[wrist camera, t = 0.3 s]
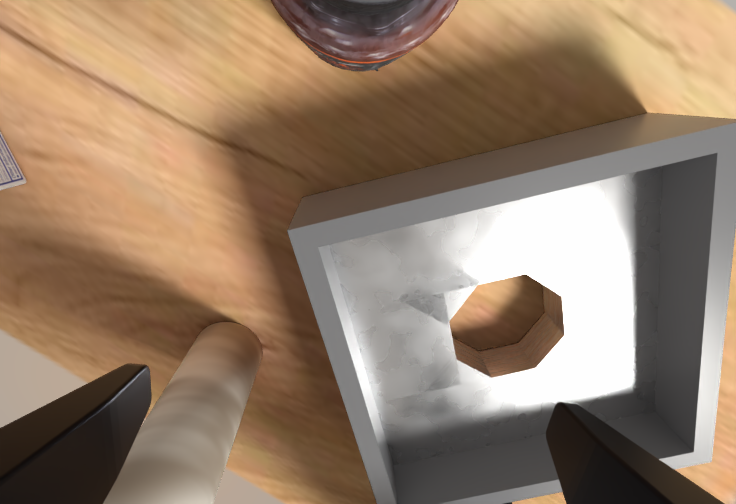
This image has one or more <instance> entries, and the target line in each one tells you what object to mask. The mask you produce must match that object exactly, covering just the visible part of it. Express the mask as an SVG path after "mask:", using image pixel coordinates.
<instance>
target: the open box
mask: <svg viewBox="0 0 736 504" xmlns="http://www.w3.org/2000/svg"><path fill="white" fill-rule="evenodd" d="M659 166H662V188H661V221H660V254H659V287H658V320H657V353H656V386H655V411H652V412H648V413H643V414H638V415H633V416H628V417H624V418H619V419H614V420H609V421H604V422H605V423H606V424H608V425H609V426H611V427H612V428H614V429H615V430H617V431H618V432H620V433H621V434H623V435H624V436H625V437H627V438H628V439H630V440H631V441H633V442H634V443H636V444H637V445H639V446H640V447H642V448H643V449H645V450H646V451H648V452H649V453H650V454H652V455H653V456H655V457H656V458H658V459H659V460H661V461H662V462H664V463H665V464H667V465H668V466H670V467H671V468H673V469H679V468H684V467H689V466H694V465H699V464H704V463H709V462H712V453H713V443H714V433H715V424H716V414H717V404H718V394H719V385H720V375H721V365H722V355H723V346H724V336H725V326H726V316H727V307H728V297H729V287H730V277H731V268H732V258H733V248H734V238H735V229H736V119H727V118H714V117H700V116H686V115H673V114H659V113H645V114H641V115H637V116H633V117H629V118H625V119H621V120H617V121H612V122H608V123H604V124H600V125H596V126H592V127H588V128H584V129H580V130H576V131H572V132H567V133H563V134H559V135H555V136H551V137H547V138H543V139H539V140H535V141H531V142H527V143H522V144H518V145H514V146H510V147H506V148H502V149H498V150H494V151H490V152H486V153H482V154H477V155H473V156H469V157H465V158H461V159H457V160H453V161H449V162H445V163H441V164H437V165H432V166H428V167H424V168H420V169H416V170H412V171H408V172H404V173H400V174H396V175H392V176H387V177H383V178H379V179H375V180H371V181H367V182H363V183H359V184H355V185H351V186H347V187H342V188H338V189H334V190H330V191H326V192H322V193H318V194H314V195H310V196H306V197H302V199H301V201H300V204H299V206H298V208H297V210H296V212H295V214H294V217H293V219H292V221H291V223H290V225H289V228H288V230H287V232H288V235H289V238H290V241H291V244H292V247H293V250H294V253H295V256H296V259H297V262H298V265H299V268H300V271H301V274H302V277H303V280H304V283H305V286H306V289H307V292H308V296H309V299H310V302H311V305H312V308H313V311H314V314H315V317H316V320H317V323H318V326H319V329H320V332H321V335H322V338H323V341H324V344H325V347H326V350H327V353H328V356H329V359H330V362H331V365H332V368H333V372H334V375H335V378H336V381H337V384H338V387H339V390H340V393H341V396H342V399H343V402H344V405H345V408H346V411H347V414H348V417H349V420H350V423H351V426H352V429H353V432H354V435H355V438H356V441H357V444H358V447H359V451H360V454H361V457H362V460H363V463H364V466H365V469H366V472H367V475H368V478H369V481H370V484H371V487H372V490H373V493H374V496H375V499H376V502H377V504H504V503H509V502H514V501H519V500H524V499H529V498H534V497H539V496H544V495H549V494H554V493H559V492H563V491H562V488H561V485H560V482H559V479H558V476H557V472H556V469H555V466H554V463H553V460H552V457H551V453H550V450H549V447H548V444H547V440H546V434H542V435H537V436H532V437H528V438H523V439H518V440H513V441H508V442H503V443H499V444H494V445H489V446H484V447H479V448H475V449H470V450H465V451H460V452H455V453H451V454H446V455H441V456H436V457H431V458H427V459H422V460H417V461H412V462H407V463H403V464H398V465H393V462H392V459H391V456H390V452H389V449H388V445H387V442H386V439H385V435H384V432H383V428H382V425H381V421H380V418H379V415H378V411H377V408H376V404H375V401H374V398H373V394H372V391H371V387H370V384H369V380H368V377H367V374H366V370H365V367H364V363H363V360H362V357H361V353H360V350H359V346H358V343H357V340H356V336H355V333H354V329H353V326H352V322H351V319H350V316H349V312H348V309H347V305H346V302H345V299H344V295H343V292H342V288H341V285H340V281H339V278H338V275H337V271H336V268H335V264H334V261H333V258H332V254H331V251H330V247H329V245H331V244H335V243H339V242H344V241H348V240H352V239H356V238H360V237H365V236H369V235H373V234H377V233H381V232H386V231H390V230H394V229H398V228H402V227H407V226H411V225H415V224H419V223H423V222H428V221H432V220H436V219H440V218H445V217H449V216H453V215H457V214H461V213H466V212H470V211H474V210H478V209H482V208H487V207H491V206H495V205H499V204H503V203H508V202H512V201H516V200H520V199H524V198H529V197H533V196H537V195H541V194H546V193H550V192H554V191H558V190H562V189H567V188H571V187H575V186H579V185H583V184H588V183H592V182H596V181H600V180H604V179H609V178H613V177H617V176H621V175H625V174H630V173H634V172H638V171H642V170H646V169H651V168H655V167H659Z"/></svg>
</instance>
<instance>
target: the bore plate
mask: <svg viewBox="0 0 736 504" xmlns="http://www.w3.org/2000/svg"><path fill="white" fill-rule="evenodd" d="M661 188H662V166H659V167H655V168H651V169H646V170H642V171H638V172H634V173H630V174H625V175H621V176H617V177H613V178H609V179H604V180H600V181H596V182H592V183H588V184H583V185H579V186H575V187H571V188H567V189H562V190H558V191H554V192H550V193H546V194H541V195H537V196H533V197H529V198H524V199H520V200H516V201H512V202H508V203H503V204H499V205H495V206H491V207H487V208H482V209H478V210H474V211H470V212H466V213H461V214H457V215H453V216H449V217H445V218H440V219H436V220H432V221H428V222H423V223H419V224H415V225H411V226H407V227H402V228H398V229H394V230H390V231H386V232H381V233H377V234H373V235H369V236H365V237H360V238H356V239H352V240H348V241H344V242H339V243H335V244H331V245H329V247H330V251H331V254H332V258H333V261H334V264H335V268H336V271H337V275H338V278H339V281H340V285H341V288H342V292H343V295H344V299H345V302H346V305H347V309H348V312H349V316H350V319H351V322H352V326H353V329H354V333H355V336H356V340H357V343H358V346H359V350H360V353H361V357H362V360H363V363H364V367H365V370H366V374H367V377H368V380H369V384H370V387H371V391H372V394H373V398H374V401H375V404H376V408H377V411H378V415H379V418H380V421H381V425H382V428H383V432H384V435H385V439H386V442H387V445H388V449H389V452H390V456H391V459H392V462H393V465H398V464H403V463H407V462H412V461H417V460H422V459H427V458H431V457H436V456H441V455H446V454H451V453H455V452H460V451H465V450H470V449H475V448H479V447H484V446H489V445H494V444H499V443H503V442H508V441H513V440H518V439H523V438H528V437H532V436H537V435H542V434H546V428H547V426H548V423H549V420H550V417H551V415H552V412H553V409H554V407H555V405H556V404H557V403H558V402H570V403H576V404H578V405H580V406H581V407H583V408H584V409H586V410H587V411H589V412H590V413H592V414H593V415H595V416H596V417H597V418H599V419H600V420H602V421H603V422H604V421H609V420H614V419H619V418H624V417H628V416H633V415H638V414H643V413H648V412H652V411H655V386H656V353H657V320H658V287H659V254H660V221H661ZM523 274H526V275H528V276H530V277H531V278H533V279H535V280H536V281H538V282H540V283H541V284H542V288H543V299H544V310H545V313H544V314H543V315H542V316H541V317H540V318H539V320H538V321H537V322H536V323H535V324H534V325H533V327H532V328H531V329H530V330H529V331H528V332H527V334H526V335H525V336H524V337H523V338H522V339H521V341H520V342H519V343H516V344H511V345H507V346H502V347H498V348H493V349H489V350H484V351H480V352H479V351H477V350H475V349H473V348H471V347H469V346H467V345H466V344H464V343H462V342H460V341H458V340H456V339H454V338H452V334H451V329H450V324H449V321H450V320H451V319H452V317H453V316H454V315H455V313H456V312H457V311H458V309H459V308H460V307H461V306H462V304H463V303H464V302H465V300H466V299H467V298H468V297H469V295H470V294H471V293H472V291H473V290H474V289H475V288H476V286H477V285H480V284H484V283H488V282H493V281H497V280H502V279H506V278H510V277H515V276H519V275H523Z"/></svg>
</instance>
